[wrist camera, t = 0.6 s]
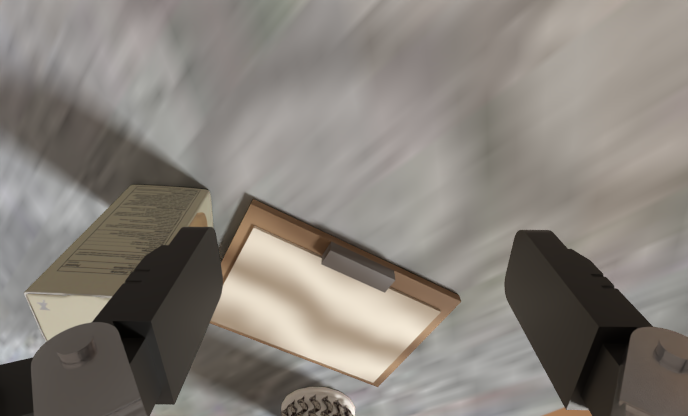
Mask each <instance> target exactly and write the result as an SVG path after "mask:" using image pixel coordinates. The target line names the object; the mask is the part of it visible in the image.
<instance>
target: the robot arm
mask: <svg viewBox="0 0 688 416" xmlns="http://www.w3.org/2000/svg"><path fill="white" fill-rule="evenodd" d="M222 288H223V274H222V268H221V262H220V256H219V250H218V244H217V238H216V233H215V230H214V228H212V227H182V228H181V229H180V230H179V232H178V233H177V234H176V236H175V237H174V238H173V240H172V241H171V242H170V244H169V245H161V246H159V247H158V248H156V249H155V250H153V251H152V252H150V253H149V254H147V255H146V256H144V258H143V259H142V260H141V261H140V263H139V264H138V265H137V266H136V268H135V269H134V272H132V273H131V274H130V275H129V276H128V278H127V279H126V280H125V283H123V284H122V285H121V286H120V288H119V289H118V290H117V291H116V293H115V294H114V295H113V296H112V298H111V299H110V300H109V301H108V303H107V304H106V305H105V306H104V308H103V309H102V310H101V311H100V313H99V314H98V315H97V316H96V317H95V319H94V320H93V321H92V322H91V323H85V324H81V325H77V326H74V327H72V328H69V329H67V330H65V331H63V332H61V333H59V334H57V335H56V336H54V337H52V338H51V339H50V340H48V341H47V342H46V343H45V344H44V345H42V346H41V347H40V349H39V350H38V351H37V352H36V354H35V355H34V357H33V358H29V359H25V360H20V361H16V362H11V363H7V364H2V365H0V416H150V414H151V412H152V410H153V408H154V405H155V404H175V402H176V400H177V398H178V395H179V393H180V391H181V388H182V386H183V384H184V381H185V379H186V377H187V374H188V372H189V370H190V367H191V365H192V363H193V360H194V358H195V356H196V353H197V351H198V349H199V346H200V344H201V342H202V339H203V337H204V335H205V333H206V330H207V328H208V326H209V323H210V321H211V319H212V316H213V314H214V312H215V309H216V307H217V305H218V302H219V300H220V297H221V294H222ZM505 294H506V298H507V301H508V303H509V305H510V307H511V308H512V310H513V312H514V314H515V316H516V318H517V319H518V321H519V323H520V325H521V327H522V329H523V331H524V332H525V334H526V336H527V338H528V340H529V342H530V344H531V345H532V347H533V349H534V351H535V353H536V355H537V356H538V358H539V360H540V362H541V364H542V366H543V368H544V369H545V371H546V373H547V375H548V377H549V379H550V381H551V382H552V384H553V386H554V388H555V390H556V392H557V394H558V395H559V397H560V399H561V401H562V403H563V405H564V406H565V408H566V410H589V411H590V412H591V414H592V416H688V337H686V336H684V335H682V334H679V333H677V332H674V331H671V330H667V329H663V328H657V327H653V326H652V325H651V324H650V323H649V322H648V321H647V320H646V319H645V318H644V317H643V316H642V314H641V313H640V312H639V311H638V310H637V309H636V308H635V307H634V306H633V305H632V304H631V303H630V302H629V301H628V300H627V299H626V298H625V297H624V295H623V294H622V293H621V292H620V291H619V290H618V289H614V285H613V284H612V283H611V282H610V281H609V280H608V279H607V278H606V277H603V273H602V272H601V271H600V270H599V269H598V268H597V267H596V266H595V265H594V264H593V263H592V262H591V261H590V260H589V259H587V258H585V257H584V256H582V255H580V254H579V253H577V252H575V251H574V250H572V249H567V248H566V246H565V245H564V244H563V243H562V242H561V241H560V240H559V239H558V238H557V236H556V235H555V234H554V233H553V232H552V231H550V230H519V231H518V232H517V233H516V235H515V238H514V242H513V246H512V250H511V255H510V259H509V263H508V268H507V272H506V276H505Z"/></svg>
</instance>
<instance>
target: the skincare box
mask: <svg viewBox="0 0 688 416" xmlns="http://www.w3.org/2000/svg"><path fill="white" fill-rule="evenodd" d="M182 227H212V228H213V215H212V205H211V196H210V192H209V190H206V189H196V188H184V187H169V186H152V185H131V186H130V187H129V188H128V189H127V190H126V191H125V192H124V193H123V194H122V195H121V196H120V197H119V198H118V199H117V200H116V201H115V202H114V203H113V204H112V205H111V206H110V207H109V208H108V209H107V210H106V211H105V212H104V213H103V214H102V215H101V216H100V217H99V218H98V219H97V220H96V221H95V222H94V223H93V224H92V225H91V226H90V227H89V228H88V229H87V230H86V231H85V232H84V233H83V234H82V235H81V236H80V237H79V238H78V239H77V240H76V241H75V242H74V243H73V244H72V245H71V246H70V247H69V248H68V249H67V250H66V251H65V252H64V253H63V254H62V255H61V256H60V257H59V258H58V259H57V260H56V261H55V262H54V263H53V264H52V265H51V266H50V267H49V268H48V269H47V270H46V271H45V272H44V273H43V274H42V275H41V276H40V277H39V278H38V279H37V280H36V281H35V282H34V283H33V284H32V285H31V286H30V287H29V288H28V289H27V290H26V291H25V292H24V294H25V297H26V299H27V301H28V303H29V306H30V308H31V311H32V313H33V315H34V317H35V320H36V322H37V324H38V327H39V329H40V331H41V333H42V335H43V337H44V339H45V341H46V342H47V341H48V340H50V339H51V338H52V337H54V336H56V335H57V334H59V333H61V332H63V331H65V330H67V329H69V328H72V327H74V326H77V325H81V324H85V323H91V322H92V321H93V320H94V319H95V317H96V316H97V315H98V314H99V313H100V311H101V310H102V309H103V308H104V306H105V305H106V304H107V303H108V301H109V300H110V299H111V298H112V296H113V295H114V294H115V293H116V291H117V290H118V289H119V288H120V286H121V285H122V284H123V283H125V280H126V279H127V278H128V276H129V275H130V274H131V273H132V272H134V269H135V268H136V266H137V265H138V264H139V263H140V261H141V260H142V259H143V258H144V256H146V255H147V254H149V253H150V252H152V251H153V250H155V249H156V248H158V247H159V246H161V245H169V244H170V242H171V241H172V240H173V238H174V237H175V236H176V234H177V233H178V232H179V230H180V229H181V228H182Z"/></svg>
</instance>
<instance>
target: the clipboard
mask: <svg viewBox="0 0 688 416" xmlns="http://www.w3.org/2000/svg"><path fill="white" fill-rule="evenodd" d="M221 268H222V274H223V288H222V294H221V297H220V300H219V302H218V305H217V307H216V309H215V312H214V314H213V316H212V319H211V321H210V323H211V324H214V325H216V326H219V327H221V328H224V329H227V330H229V331H232V332H235V333H237V334H240V335H242V336H245V337H248V338H250V339H253V340H256V341H258V342H261V343H263V344H266V345H269V346H271V347H274V348H277V349H279V350H282V351H284V352H287V353H290V354H292V355H295V356H298V357H300V358H303V359H305V360H308V361H311V362H313V363H316V364H319V365H321V366H324V367H326V368H329V369H332V370H334V371H337V372H340V373H342V374H345V375H347V376H350V377H353V378H355V379H358V380H361V381H363V382H366V383H368V384H371V385H374V386H376V387H378V386H379V385H380V384H381V383H382V382H383V381H384V380H385V379H386V378H387V377H388V376H389V375H390V374H391V373H392V372H393V371H394V370H395V369H396V368H397V367H398V366H399V365H400V364H401V363H402V362H403V361H404V360H405V359H406V358H407V357H408V356H409V355H410V354H411V353H412V352H413V351H414V350H415V348H416V347H417V346H418V345H419V344H420V343H421V342H422V341H423V340H424V339H425V338H426V337H427V336H428V335H429V334H430V333H431V332H432V331H433V330H434V329H435V328H436V327H437V326H438V325H439V324H440V323H441V322H442V321H443V320H444V319H445V318H446V317H447V316H448V315H449V314H450V313H451V312H452V311H453V310H454V309H455V308H456V306H457V305H458V304H459V303H460V302H461V300H460V297H459V295H457V294H455V293H453V292H451V291H449V290H447V289H444V288H442V287H440V286H438V285H436V284H434V283H432V282H429V281H427V280H425V279H423V278H421V277H419V276H417V275H415V274H412V273H410V272H408V271H406V270H404V269H402V268H400V267H397V266H395V265H393V264H391V263H389V262H387V261H385V260H383V259H380V258H378V257H376V256H374V255H372V254H370V253H368V252H365V251H363V250H361V249H359V248H357V247H355V246H353V245H351V244H348V243H346V242H344V241H342V240H340V239H338V238H336V237H333V236H331V235H329V234H327V233H325V232H323V231H321V230H319V229H316V228H314V227H312V226H310V225H308V224H306V223H304V222H301V221H299V220H297V219H295V218H293V217H291V216H289V215H287V214H284V213H282V212H280V211H278V210H276V209H274V208H272V207H269V206H267V205H265V204H263V203H261V202H259V201H257V200H255V199H253V200H252V202H251V204H250V206H249V208H248V210H247V212H246V214H245V216H244V218H243V220H242V222H241V224H240V226H239V228H238V230H237V232H236V234H235V236H234V238H233V240H232V242H231V244H230V246H229V248H228V250H227V252H226V254H225V256H224V258H223V260H222V262H221Z"/></svg>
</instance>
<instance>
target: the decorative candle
mask: <svg viewBox="0 0 688 416" xmlns="http://www.w3.org/2000/svg"><path fill="white" fill-rule="evenodd" d="M281 410H282V411H281V415H282V416H355V406H354V404H353V403H352V401H351V399H350V398H349V397H347V396H346V395H344V394H343V393H341V392H340V391H337V390H333V389H330V388H327V387H307V388H302V389H297V390H295V391H294V392H292V393H290V394H289V395H287V396H286V398H285V399H284V401H283V402H282V405H281Z"/></svg>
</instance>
